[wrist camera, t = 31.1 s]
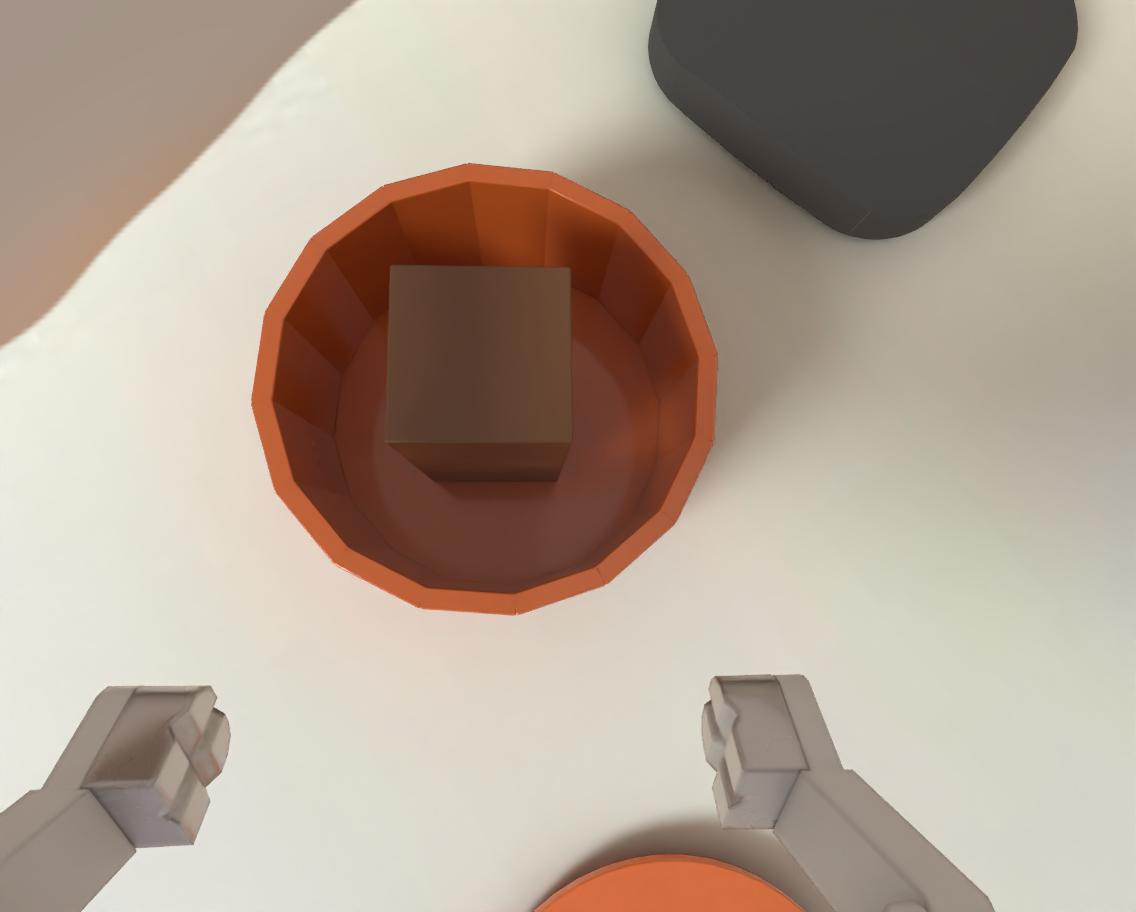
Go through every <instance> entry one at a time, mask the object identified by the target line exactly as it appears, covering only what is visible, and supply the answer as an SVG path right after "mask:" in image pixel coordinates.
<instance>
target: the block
mask: <svg viewBox="0 0 1136 912" xmlns="http://www.w3.org/2000/svg"><path fill="white" fill-rule="evenodd" d="M572 441H573V423H572V329H571V269H570V268H568V267H506V266H445V265H391V266H390V286H389V317H388V348H387V380H386V411H385V442H386V443H387V444H388V445H389V446H391V447H392V448H393V449H394V450H396V451H397V452H398V453H399V454H400V455H402V456H403V457H404V458H405V459H407V460H408V461H409V462H410V463H412V464H413V465H414V466H415V467H417V468H418V469H419V470H420V471H422V472H423V473H424V474H425V475H427V476H428V477H429V478H430V479H432V480H433V481H557V480H558V478H559V475H560V472H561V470H562V467H563V465H564V462H565V459H566V457H567V454H568V451H569V449H570V446H571V444H572Z"/></svg>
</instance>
